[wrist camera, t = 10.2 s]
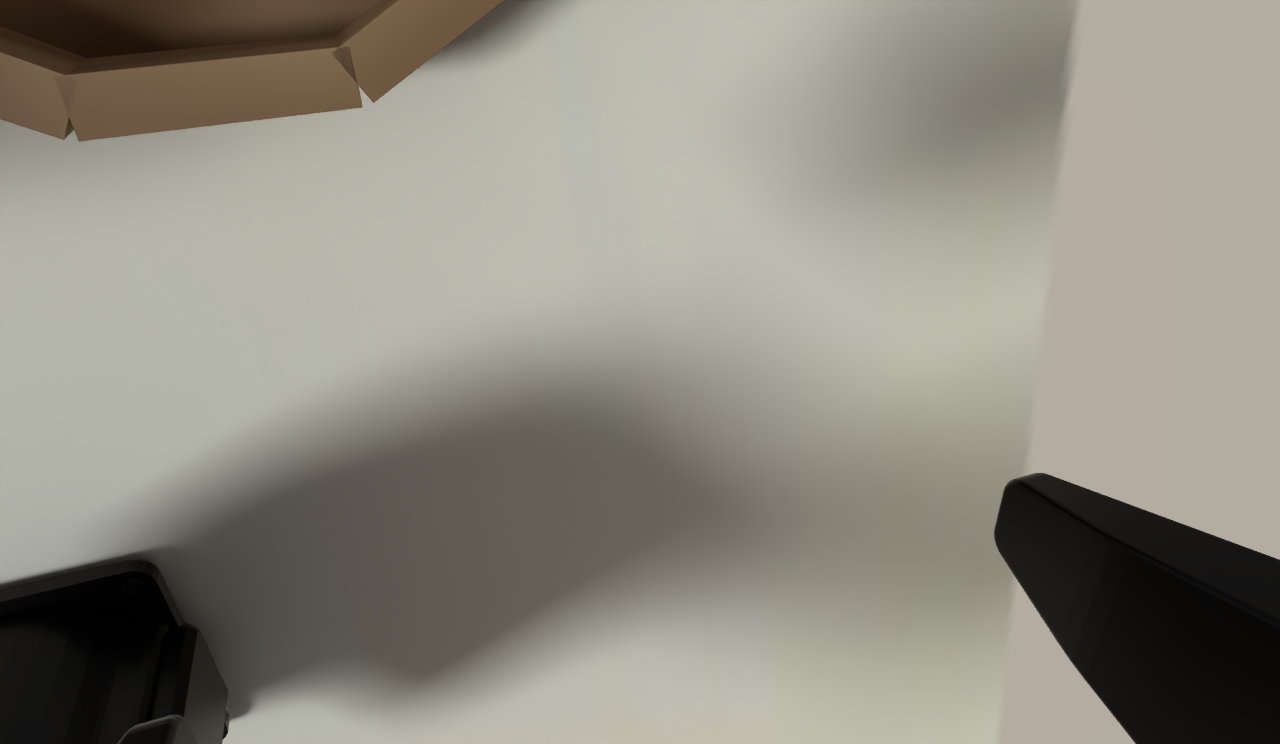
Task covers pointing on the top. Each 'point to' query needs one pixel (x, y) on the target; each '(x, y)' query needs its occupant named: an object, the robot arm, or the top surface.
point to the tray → (209, 59)
